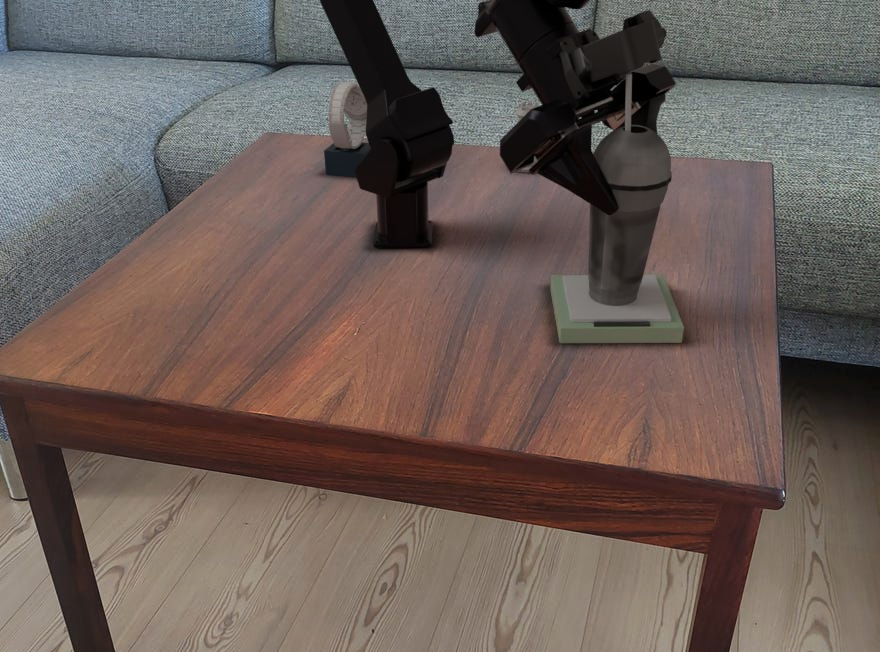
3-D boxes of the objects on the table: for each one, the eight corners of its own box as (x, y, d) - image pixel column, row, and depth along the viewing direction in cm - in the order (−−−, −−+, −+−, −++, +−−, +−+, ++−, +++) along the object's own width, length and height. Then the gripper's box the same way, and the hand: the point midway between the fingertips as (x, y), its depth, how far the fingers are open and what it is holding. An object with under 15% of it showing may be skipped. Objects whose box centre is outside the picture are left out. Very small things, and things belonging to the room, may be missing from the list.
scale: (681, 343, 84) (685, 323, 83) (559, 343, 85) (561, 324, 84) (661, 288, 93) (663, 270, 92) (550, 289, 94) (551, 271, 93)
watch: (382, 162, 126) (378, 76, 119) (359, 182, 120) (354, 93, 113) (343, 158, 127) (337, 73, 121) (319, 178, 121) (312, 91, 115)
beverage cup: (665, 307, 86) (705, 80, 73) (590, 317, 85) (618, 88, 72) (633, 273, 91) (665, 57, 79) (562, 281, 90) (584, 63, 78)
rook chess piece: (503, 171, 121) (505, 107, 116) (515, 160, 124) (517, 98, 120) (536, 175, 120) (539, 111, 115) (547, 164, 123) (551, 101, 118)
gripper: (534, -1, 69) (643, 180, 69) (672, -38, 79) (766, 120, 80) (455, 91, 78) (551, 250, 79) (587, 47, 89) (672, 188, 89)
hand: (639, 199), depth 81 cm, fingers closed on beverage cup, 7 cm apart
